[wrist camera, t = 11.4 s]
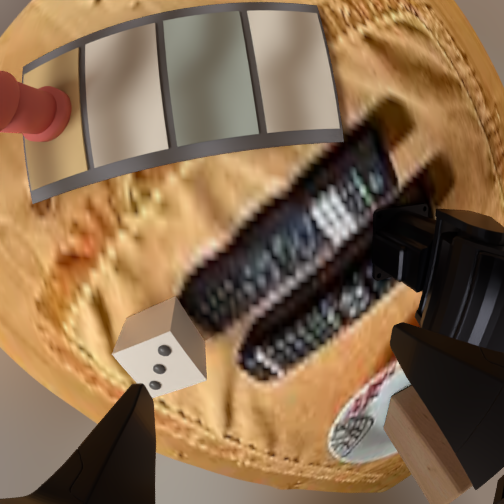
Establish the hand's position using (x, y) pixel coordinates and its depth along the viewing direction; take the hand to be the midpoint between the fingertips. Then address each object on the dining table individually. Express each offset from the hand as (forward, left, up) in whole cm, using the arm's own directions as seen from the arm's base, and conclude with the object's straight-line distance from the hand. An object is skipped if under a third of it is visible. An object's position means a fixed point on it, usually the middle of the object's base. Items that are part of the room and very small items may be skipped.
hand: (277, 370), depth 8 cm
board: (+3, -13, -13) cm, 19 cm away
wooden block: (-23, +30, -13) cm, 40 cm away
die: (+7, +6, -13) cm, 16 cm away
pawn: (+12, -13, -12) cm, 21 cm away
